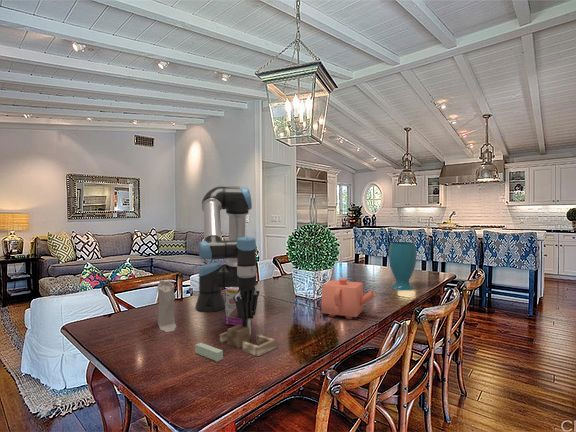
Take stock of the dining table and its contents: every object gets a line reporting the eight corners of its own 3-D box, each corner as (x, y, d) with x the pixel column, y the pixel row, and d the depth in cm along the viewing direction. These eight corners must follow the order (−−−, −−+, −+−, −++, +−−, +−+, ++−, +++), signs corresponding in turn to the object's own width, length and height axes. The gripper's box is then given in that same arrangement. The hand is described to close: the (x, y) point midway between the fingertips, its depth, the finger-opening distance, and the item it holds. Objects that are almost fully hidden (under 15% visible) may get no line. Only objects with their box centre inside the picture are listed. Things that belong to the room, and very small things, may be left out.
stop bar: (195, 352, 126) (195, 344, 126) (200, 350, 128) (200, 342, 128) (217, 361, 119) (217, 352, 119) (222, 359, 121) (222, 350, 121)
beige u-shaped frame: (217, 342, 136) (217, 335, 136) (237, 334, 144) (237, 327, 144) (258, 356, 123) (258, 348, 123) (278, 346, 131) (277, 338, 131)
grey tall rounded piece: (161, 333, 147) (161, 285, 146) (157, 323, 159) (156, 280, 159) (178, 330, 150) (178, 284, 150) (173, 321, 162) (173, 278, 162)
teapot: (379, 312, 176) (379, 277, 175) (370, 325, 155) (370, 286, 155) (332, 306, 186) (332, 273, 186) (318, 318, 166) (318, 281, 165)
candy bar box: (224, 325, 157) (224, 288, 156) (229, 321, 161) (229, 286, 161) (246, 327, 153) (246, 290, 153) (251, 324, 158) (251, 288, 157)
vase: (420, 291, 222) (420, 244, 221) (393, 291, 222) (393, 244, 221) (410, 285, 239) (411, 241, 238) (385, 285, 239) (385, 241, 238)
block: (227, 344, 134) (227, 329, 134) (238, 339, 139) (238, 324, 139) (238, 348, 130) (238, 332, 130) (249, 343, 135) (249, 327, 135)
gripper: (241, 279, 131) (242, 341, 131) (264, 274, 141) (264, 332, 141) (228, 277, 135) (228, 337, 136) (250, 272, 146) (251, 328, 146)
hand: (247, 334), depth 139 cm, fingers closed
